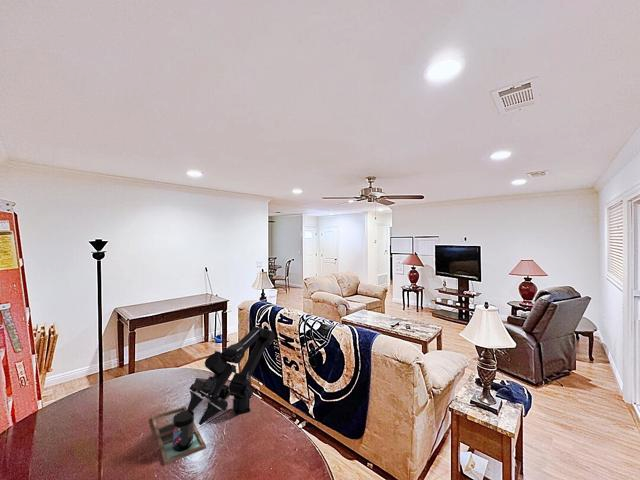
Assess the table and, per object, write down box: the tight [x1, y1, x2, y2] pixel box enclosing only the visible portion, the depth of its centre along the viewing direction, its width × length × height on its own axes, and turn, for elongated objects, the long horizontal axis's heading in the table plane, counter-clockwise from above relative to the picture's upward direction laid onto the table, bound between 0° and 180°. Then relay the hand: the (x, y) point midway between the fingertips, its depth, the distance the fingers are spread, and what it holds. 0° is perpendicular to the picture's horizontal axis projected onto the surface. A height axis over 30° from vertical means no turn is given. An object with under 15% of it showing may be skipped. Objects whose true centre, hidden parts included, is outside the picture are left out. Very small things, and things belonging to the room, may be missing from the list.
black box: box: [218, 384, 231, 401], centre depth 136 cm, size 12×7×5 cm, turn 168°
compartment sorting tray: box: [150, 406, 207, 466], centre depth 108 cm, size 31×13×1 cm, turn 38°
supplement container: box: [172, 410, 195, 452], centre depth 100 cm, size 7×7×10 cm
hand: (192, 419), depth 103 cm, fingers open, 9 cm apart
